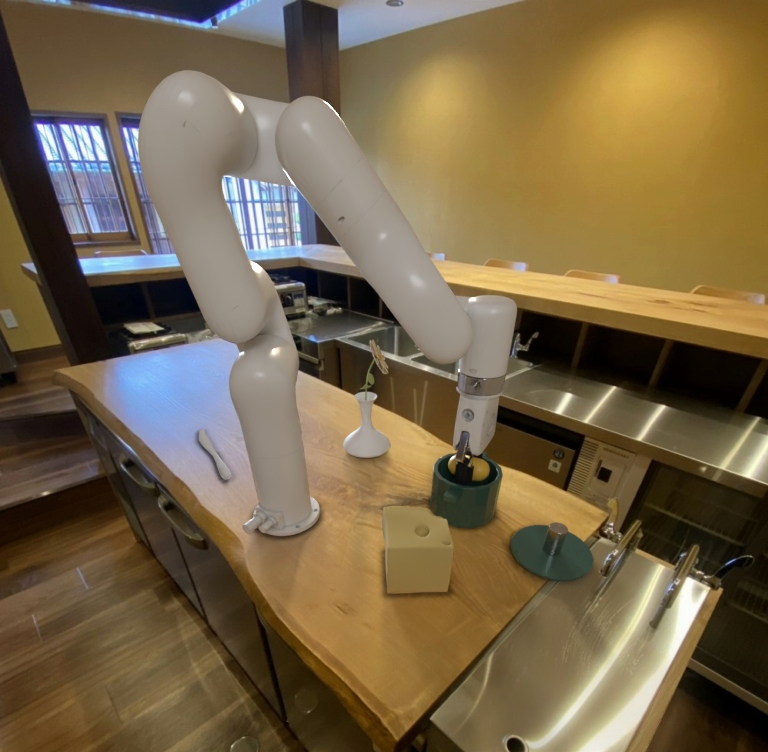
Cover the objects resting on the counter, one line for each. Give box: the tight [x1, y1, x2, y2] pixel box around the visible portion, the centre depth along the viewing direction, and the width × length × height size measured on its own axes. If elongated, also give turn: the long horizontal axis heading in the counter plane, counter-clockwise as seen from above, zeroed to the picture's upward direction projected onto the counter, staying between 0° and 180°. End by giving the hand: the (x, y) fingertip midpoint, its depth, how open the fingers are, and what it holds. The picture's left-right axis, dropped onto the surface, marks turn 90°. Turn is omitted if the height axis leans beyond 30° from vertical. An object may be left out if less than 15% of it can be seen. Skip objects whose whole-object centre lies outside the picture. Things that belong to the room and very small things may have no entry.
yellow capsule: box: [448, 455, 490, 481], centre depth 78 cm, size 8×4×4 cm, turn 62°
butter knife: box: [198, 428, 233, 480], centre depth 100 cm, size 1×27×3 cm
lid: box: [509, 522, 594, 582], centre depth 72 cm, size 14×14×6 cm
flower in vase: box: [342, 339, 392, 459], centre depth 95 cm, size 13×11×25 cm
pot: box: [429, 451, 504, 529], centre depth 82 cm, size 13×18×9 cm
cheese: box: [381, 505, 455, 595], centre depth 67 cm, size 10×11×10 cm
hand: (467, 475), depth 80 cm, fingers closed on yellow capsule, 4 cm apart
